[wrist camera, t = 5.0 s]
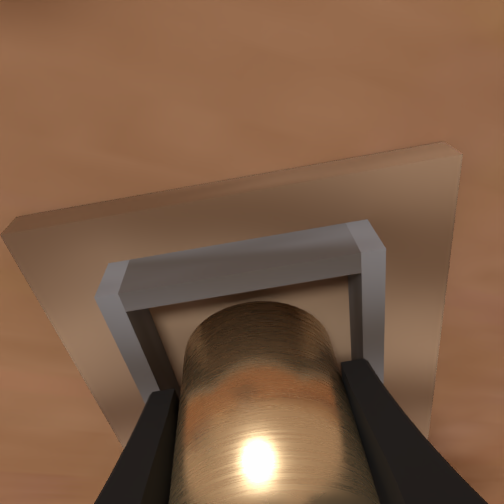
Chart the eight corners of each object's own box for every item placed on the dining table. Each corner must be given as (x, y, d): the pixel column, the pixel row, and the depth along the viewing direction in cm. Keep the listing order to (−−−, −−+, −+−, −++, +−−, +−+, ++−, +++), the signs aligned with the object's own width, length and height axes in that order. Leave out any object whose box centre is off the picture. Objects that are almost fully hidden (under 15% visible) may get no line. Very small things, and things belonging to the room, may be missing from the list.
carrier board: (412, 476, 20) (434, 533, 18) (174, 511, 21) (169, 570, 19) (444, 141, 11) (496, 177, 9) (16, 217, 12) (-30, 267, 9)
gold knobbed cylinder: (335, 394, 13) (389, 592, 9) (202, 414, 14) (192, 619, 9) (327, 289, 11) (396, 489, 7) (166, 315, 11) (130, 527, 7)
